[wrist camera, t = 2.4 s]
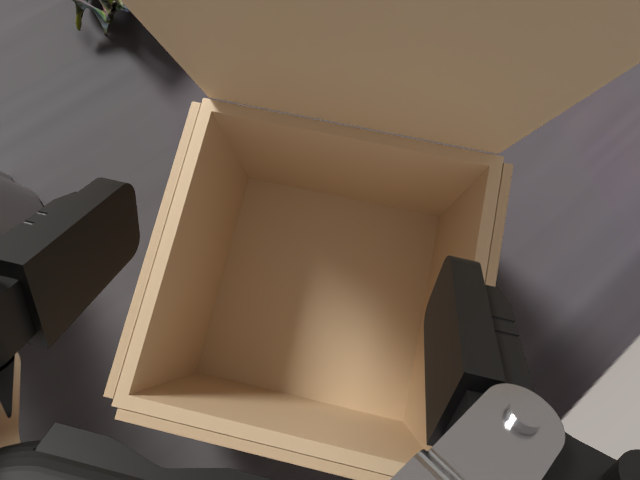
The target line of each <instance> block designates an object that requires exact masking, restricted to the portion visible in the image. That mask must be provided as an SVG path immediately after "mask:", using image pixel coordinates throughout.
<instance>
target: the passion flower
mask: <svg viewBox="0 0 640 480" xmlns="http://www.w3.org/2000/svg"><path fill="white" fill-rule="evenodd" d="M73 1H74V2H75V4H76V26H77V29H78V30H80V28H81V19H82V16H83V12H84V10H85V8H89V9H92V10H93V11H94V13H95V14H96V15H97V18H98V19H99V21H100V22H101V24H102V27H103V29H104V35H105V36H107V32H108V31H107V30H108V26H109V25H110V23H112V20H113V13H115V12H117V11H118V10H123V11H125V12H129V11H130V10H129V9H128V8H127V7H126V6H125V5H124V4H123V3H122V1H121V0H115V1H114V0H108V1H104V0H99V1H100V2H101V4H102V6H103V9H104V11H102V10H100V9H98V8H96V7H94V6H92V5H90V4H89V3H88V0H73ZM130 12H131V11H130ZM131 13H132V12H131Z"/></svg>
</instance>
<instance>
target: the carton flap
mask: <svg viewBox="0 0 640 480" xmlns="http://www.w3.org/2000/svg"><path fill="white" fill-rule="evenodd" d="M121 1H122V3H123V4H124V5H125V6H126V7H127V8H128V9H129V10H130V11H131V12H132V13H133V15H134V16H135V17H136V18H137V19H138V20H139V21H140V22H141V23H142V24H143V26H144V27H145V28H146V29H147V30H148V31H149V32H150V33H151V34H152V35H153V37H154V38H155V39H156V40H157V41H158V42H159V43H160V44H161V45H162V46H163V47H164V49H165V50H166V51H167V52H168V53H169V54H170V55H171V56H172V57H173V58H174V60H175V61H176V62H177V63H178V64H179V65H180V66H181V67H182V68H183V69H184V71H185V72H186V73H187V74H188V75H189V76H190V77H191V78H192V79H193V80H194V82H195V83H196V84H197V85H198V86H199V87H200V88H201V89H202V90H203V91H204V92H205V94H206V95H207V96H208V97H209V98H214V99H219V100H224V101H229V102H234V103H240V104H245V105H250V106H255V107H260V108H265V109H270V110H275V111H281V112H286V113H291V114H296V115H301V116H306V117H311V118H316V119H322V120H327V121H332V122H337V123H342V124H347V125H352V126H357V127H363V128H368V129H373V130H378V131H383V132H388V133H393V134H398V135H404V136H409V137H414V138H419V139H424V140H429V141H434V142H440V143H445V144H450V145H455V146H460V147H465V148H470V149H475V150H481V151H486V152H491V153H496V154H499V153H500V152H502V151H503V150H505V149H506V148H508V147H510V146H511V145H513V144H514V143H516V142H517V141H519V140H520V139H522V138H524V137H525V136H527V135H528V134H530V133H531V132H533V131H534V130H536V129H537V128H539V127H541V126H542V125H544V124H545V123H547V122H548V121H550V120H551V119H553V118H555V117H556V116H558V115H559V114H561V113H562V112H564V111H565V110H567V109H568V108H570V107H572V106H573V105H575V104H576V103H578V102H579V101H581V100H582V99H584V98H586V97H587V96H589V95H590V94H592V93H593V92H595V91H596V90H598V89H599V88H601V87H603V86H604V85H606V84H607V83H609V82H610V81H612V80H613V79H615V78H616V77H618V76H620V75H621V74H623V73H624V72H626V71H627V70H629V69H630V68H632V67H634V66H635V65H637V64H638V63H640V0H121Z"/></svg>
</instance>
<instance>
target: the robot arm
mask: <svg viewBox="0 0 640 480" xmlns="http://www.w3.org/2000/svg"><path fill="white" fill-rule="evenodd" d="M139 239H140V232H139V224H138V215H137V206H136V197H135V191H134V188H133V186H132V185H131V184H128V183H124V182H119V181H115V180H110V179H106V178H97V179H95V180H94V181H92V182H91V183H90V184H88V185H87V186H85V187H84V188H83V189H81V190H80V191H78V192H74V193H71V194H68V195H65V196H63V197H60V198H57V199H54V200H53V201H51V202H50V203H48V204H47V205H46V206H44V207H43V206H42V204H41V202H40V200H39V199H38V198H37V196H36V195H35V194H34V193H33V192H31V191H30V190H28V189H27V188H25V187H23V186H21V185H19V184H17V183H14V182H13V181H12V180H11V178H10V176H9V175H7V174H5V173H3V172H1V171H0V480H272V479H268V478H265V477H261V476H257V475H253V474H249V473H246V472H242V471H238V470H234V469H230V468H186V469H167V468H161V467H159V466H156V465H155V464H153V463H152V462H150V461H148V460H147V459H145V458H144V457H142V456H140V455H139V454H137V453H136V452H134V451H132V450H131V449H129V448H128V447H126V446H124V445H123V444H121V443H120V442H118V441H116V440H115V439H113V438H112V437H109V436H105V435H101V434H97V433H93V432H90V431H86V430H82V429H78V428H74V427H71V426H67V425H63V424H59V423H55V424H54V425H53V426H52V428H51V429H50V430H49V431H48V433H47V434H46V435H45V437H44V438H43V439H42V441H31V442H23V443H20V439H19V400H20V372H21V358H20V355H19V352H18V351H19V350H20V349H21V348H22V347H23V346H24V345H25V344H26V343H30V344H34V345H37V346H41V347H45V348H50V347H51V346H52V344H53V343H54V342H55V341H56V340H57V339H58V338H59V337H60V336H61V335H62V334H63V332H64V331H65V330H66V329H67V328H68V327H69V326H70V325H71V324H72V323H73V322H74V321H75V319H76V318H77V317H78V316H79V315H80V314H81V313H82V312H83V311H84V310H85V309H86V307H87V306H88V305H89V304H90V303H91V302H92V301H93V300H94V299H95V298H96V297H97V296H98V294H99V293H100V292H101V291H102V290H103V289H104V288H105V287H106V286H107V285H108V284H109V282H110V281H111V280H112V279H113V278H114V277H115V276H116V275H117V274H118V273H119V272H120V271H121V269H122V268H123V267H124V266H125V265H126V264H127V263H128V262H129V261H130V260H131V259H132V257H133V256H134V254H135V253H136V251H137V248H138V245H139ZM514 322H515V320H514V316H513V312H512V308H511V305H510V303H509V302H508V300H507V299H506V298H505V297H504V295H503V294H502V293H501V291H500V290H499V289H498V287H494V286H489V285H485V282H484V278H483V273H482V268H481V264H480V263H479V262H477V261H472V260H468V259H463V258H459V257H454V256H450V255H448V256H447V257H446V258H445V260H444V262H443V265H442V267H441V270H440V272H439V275H438V278H437V280H436V283H435V285H434V288H433V290H432V293H431V296H430V298H429V301H428V304H427V307H426V311H425V317H424V361H425V401H426V441H427V445H429V446H433V447H432V448H430V449H429V450H428V451H426V450H425V449H422V450H421V451H419V452H418V453H417V454H415V455H414V456H413V457H412V458H411V459H410V460H409V461H408V462H407V463H406V464H405V465H404V466H403V467H402V468H401V469H400V470H399V471H398V472H397V473H396V474H395V475H394V476H393V477H392V478H391V479H390V480H640V450H630V451H628V452H626V453H624V454H623V455H622V456H621V457H620V458H619V459H618V460H615V459H613V458H611V457H609V456H607V455H606V454H603V453H602V452H600V451H598V450H596V449H594V448H592V447H590V446H588V445H586V444H584V443H582V442H580V441H579V440H577V439H575V438H573V437H572V436H570V435H569V434H567V433H566V432H565V431H564V427H563V424H562V422H561V420H560V418H559V416H558V415H557V413H556V412H555V411H554V409H553V408H552V407H551V406H550V405H549V404H548V403H547V402H546V401H545V400H544V399H542V398H541V397H540V396H538V395H537V394H535V393H534V389H533V386H532V382H531V378H530V375H529V371H528V367H527V364H526V360H525V356H524V353H523V349H522V345H521V342H520V339H518V336H519V334H518V331H517V327H516V324H514Z"/></svg>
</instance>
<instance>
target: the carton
mask: <svg viewBox="0 0 640 480" xmlns="http://www.w3.org/2000/svg"><path fill="white" fill-rule="evenodd" d="M503 160H504V157H503V156H498V155H493V154H488V153H483V152H478V151H472V150H467V149H462V148H457V147H452V146H447V145H442V144H437V143H432V142H426V141H421V140H416V139H411V138H406V137H401V136H396V135H391V134H385V133H380V132H375V131H370V130H365V129H360V128H355V127H350V126H344V125H339V124H334V123H329V122H324V121H319V120H314V119H309V118H304V117H298V116H293V115H288V114H283V113H278V112H273V111H268V110H263V109H257V108H252V107H247V106H242V105H237V104H232V103H227V102H222V101H217V100H211V99H206V98H203V100H202V103H197V102H192V104H191V107H190V110H189V114H188V117H187V120H186V123H185V127H184V130H183V133H182V137H181V140H180V143H179V147H178V150H177V153H176V157H175V160H174V163H173V166H172V170H171V173H170V176H169V180H168V183H167V186H166V190H165V193H164V196H163V200H162V203H161V206H160V209H159V213H158V216H157V219H156V223H155V226H154V229H153V233H152V236H151V239H150V243H149V246H148V249H147V253H146V256H145V259H144V262H143V266H142V269H141V272H140V276H139V279H138V282H137V286H136V289H135V292H134V296H133V299H132V302H131V305H130V309H129V312H128V315H127V319H126V322H125V325H124V329H123V332H122V335H121V339H120V342H119V345H118V348H117V352H116V355H115V358H114V362H113V365H112V368H111V372H110V375H109V378H108V382H107V385H106V388H105V392H104V395H103V396H104V397H108V398H112V399H113V398H114V399H113V402H112V406H114V407H118V409H117V412H116V416H115V419H116V420H120V421H124V422H128V423H132V424H136V425H140V426H144V427H148V428H152V429H156V430H160V431H164V432H168V433H172V434H176V435H180V436H184V437H188V438H192V439H196V440H200V441H204V442H208V443H211V444H215V445H219V446H223V447H227V448H231V449H235V450H239V451H243V452H247V453H251V454H255V455H259V456H263V457H267V458H271V459H275V460H279V461H283V462H287V463H291V464H295V465H299V466H303V467H307V468H311V469H315V470H319V471H323V472H327V473H331V474H335V475H339V476H343V477H346V478H350V479H354V480H390V479H391V478H392V477H393V476H394V475H395V474H396V473H397V472H398V471H399V470H400V469H401V468H402V467H403V466H404V465H405V464H406V463H407V462H408V461H409V460H410V459H411V458H412V457H413V456H414V455H415V454H417V453H418V452H419V451H421V450H422V449H425V450H426V451H428V450H429V449H430V448H432V447H433V446H429V445H427V441H426V401H425V361H424V317H425V311H426V307H427V304H428V301H429V298H430V296H431V293H432V290H433V288H434V285H435V283H436V280H437V278H438V275H439V272H440V270H441V267H442V265H443V262H444V260H445V258H446V257H447V256H448V255H450V256H454V257H459V258H463V259H468V260H472V261H477V262H479V263H480V264H481V268H482V273H483V278H484V282H485V285H489V286H494V287H495V286H496V279H497V272H498V265H499V259H500V252H501V245H502V238H503V232H504V225H505V218H506V211H507V205H508V198H509V191H510V185H511V178H512V171H513V164H508V163H503Z"/></svg>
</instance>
